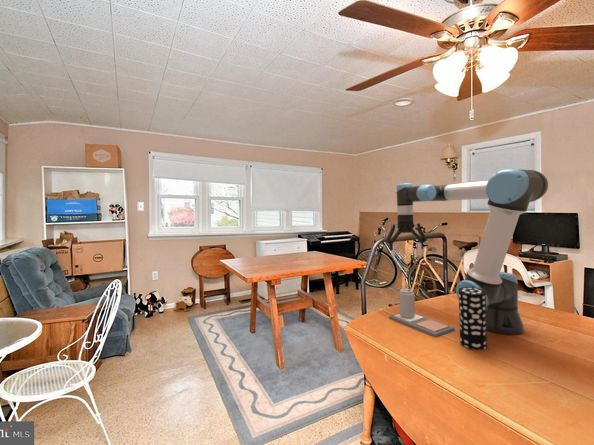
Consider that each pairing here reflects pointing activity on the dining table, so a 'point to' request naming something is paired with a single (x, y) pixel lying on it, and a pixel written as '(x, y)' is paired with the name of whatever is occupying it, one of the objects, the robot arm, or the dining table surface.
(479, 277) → the robot arm
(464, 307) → the spotted tube
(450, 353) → the dining table surface
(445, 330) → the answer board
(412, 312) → the beverage can
